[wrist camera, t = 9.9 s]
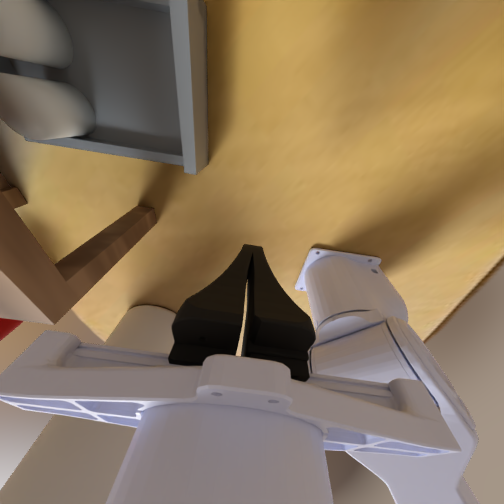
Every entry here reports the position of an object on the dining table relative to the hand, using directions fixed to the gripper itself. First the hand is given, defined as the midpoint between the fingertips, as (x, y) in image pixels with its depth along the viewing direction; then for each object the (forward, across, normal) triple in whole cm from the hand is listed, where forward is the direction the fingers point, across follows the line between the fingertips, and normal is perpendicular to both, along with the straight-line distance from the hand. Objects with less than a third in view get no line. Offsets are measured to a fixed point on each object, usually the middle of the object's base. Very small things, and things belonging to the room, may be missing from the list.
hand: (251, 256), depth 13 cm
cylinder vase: (+10, +16, +29) cm, 34 cm away
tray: (+9, +14, -8) cm, 18 cm away
